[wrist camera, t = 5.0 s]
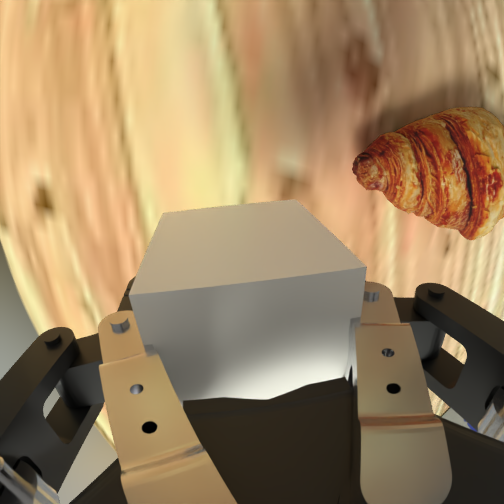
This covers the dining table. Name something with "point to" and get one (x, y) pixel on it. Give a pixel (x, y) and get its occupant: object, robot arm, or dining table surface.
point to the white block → (247, 300)
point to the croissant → (442, 169)
